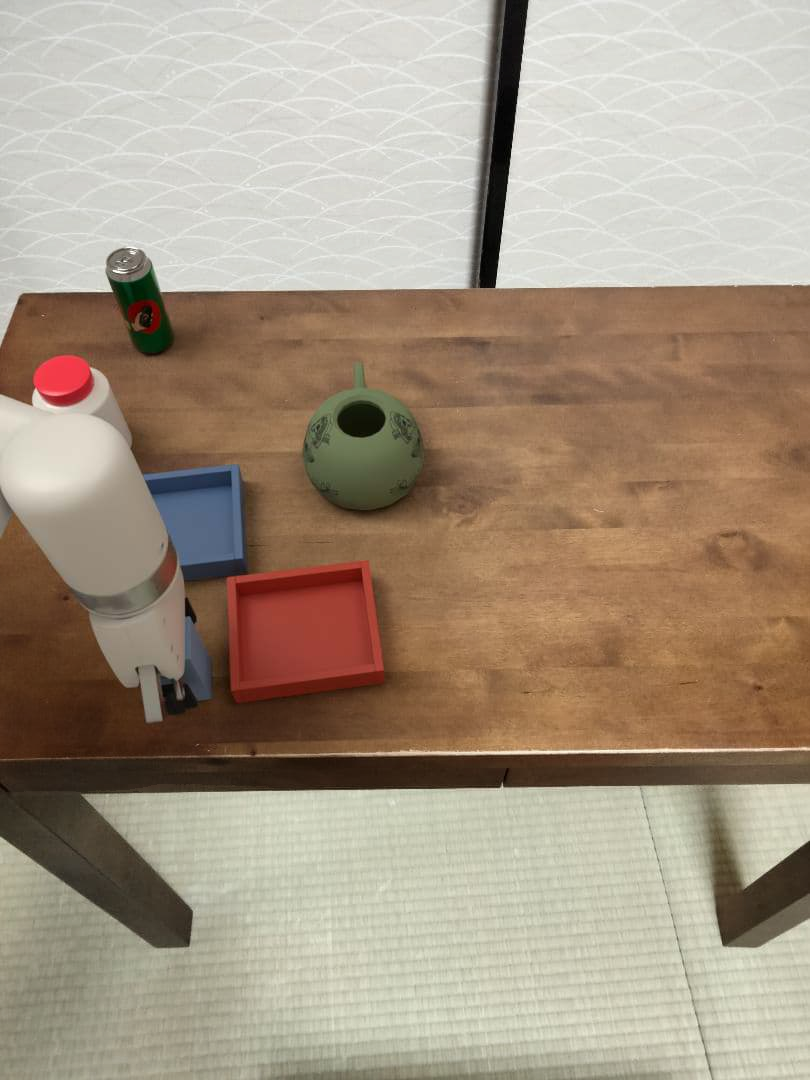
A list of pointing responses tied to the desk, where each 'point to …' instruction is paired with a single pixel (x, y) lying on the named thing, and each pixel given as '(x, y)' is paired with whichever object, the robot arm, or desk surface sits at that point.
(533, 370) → the desk surface
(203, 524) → the blue tray
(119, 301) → the soda can
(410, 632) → the desk surface
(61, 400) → the pill bottle
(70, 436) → the robot arm
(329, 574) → the red tray
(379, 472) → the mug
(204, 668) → the blue block
